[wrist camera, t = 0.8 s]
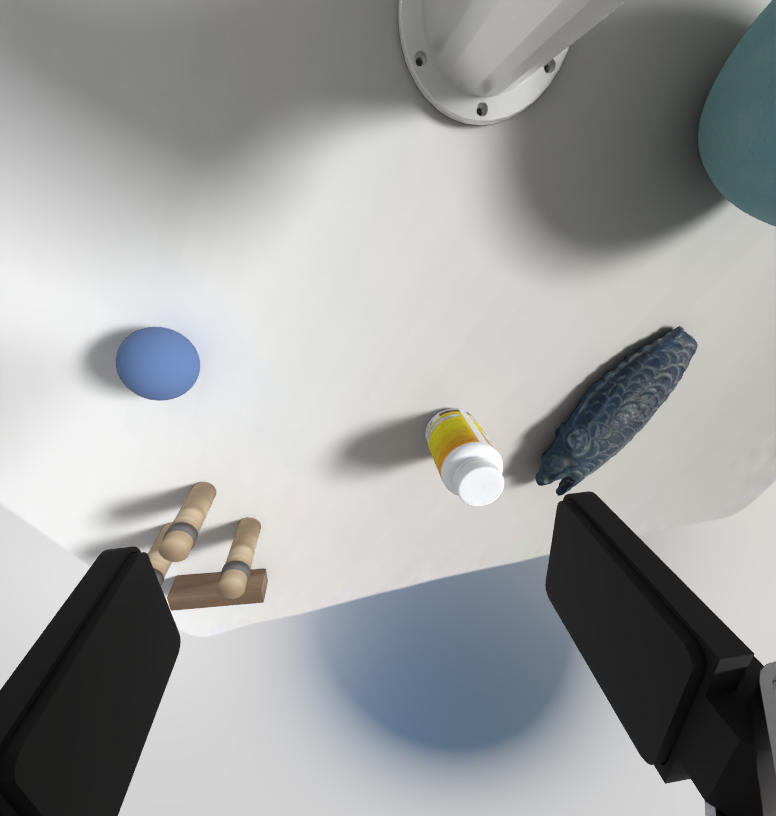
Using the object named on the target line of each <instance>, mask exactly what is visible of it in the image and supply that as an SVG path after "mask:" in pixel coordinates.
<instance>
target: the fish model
mask: <svg viewBox="0 0 776 816" xmlns="http://www.w3.org/2000/svg"><path fill="white" fill-rule="evenodd" d="M696 349H697V342H696V341H695V339H694V338H693V337H692V336H691V335H689V334H687V333H686V332H684V329H683V328H682V327H681V326H679V327H677V328H676V329H674V330H673V331H672V332H667V334H666V335H664V336H663V337H662V338H659V339H655V340H654V341H653V342H651V344H649V345H646V346H643V347H641V348H640V349H639V350H638V351H637V352H636V353H633V354H631V355H629V356H627V357H626V358H625V360H624V361H623V362H621V363H619V364H617V365H616V366H615V368H614V369H613V370H612V371H610V372H607V373H606V374H605V375H604V376H603V377H602V378H601V379H600V381H598V382H597V383H595V384H594V385H593V386H592V387H591V389H590V390H589V392H587V393H586V394H585V395H584V396H583V397H582V399H581V402H580V404H579V405H578V406H577V407H576V409H575V411H574V412H573V414H572V415H571V417H570V419H569V420H568V421H566V423H562V424H561V426H560V427H559V428H558V429H557V430H556V439H555V441H554V443H553V445H552V447H551V449H550V450H549V451H548V452H545V453H543V454H542V455H541V458H542V465H541V468H540V470H539V472H538V473H537V474H536V482H537V484H538V485H540V486H543V485H547V484H550V483H552V482H554V481H555V480H559V479H562V480H561V482H560V483H559V487H558V488H557V490H556V493H557V494H558V496H560V495H563V494H564V493H566V492H567V491H569V490H570V489H571V488H572V487H574V486H576V485H577V484H578V483H579V482H581V481H582V480H583V479H584V478H585V477H586V476H588V475H590V474H592V473H593V472H594V471H596V470H597V469H598V468H600V467H601V466H602V465H603V464H604V463H606V462H607V461H608V460H609V459H610V458H611V457H613V456H615V455H616V454H617V453H618V452H619V451H620V450H621V449H622V448H623V447H624V446H625V445H626V444H628V443H629V442H630V441H631V440H632V439H633V437H634V436H635V434H636V433H637V432H639V431H640V430H641V429H642V428H643V427H644V426H645V425H646V423H647V422H648V421H649V420H650V419H651V417H652V416H653V415H654V413H655V412H656V411H657V409H658V408H659V407H660V406H661V405H662V404H663V403H664V402H665V401H666V400H667V398H668V396H669V394H670V393H671V392H672V391H673V390H674V388H675V387H676V386H677V384H678V382H679V381H680V379H681V378H682V376H683V373H684V371H685V370H686V369H687V367H688V365H689V362H690V360H691V358H692V356H693V355H694V354H695V352H696Z"/></svg>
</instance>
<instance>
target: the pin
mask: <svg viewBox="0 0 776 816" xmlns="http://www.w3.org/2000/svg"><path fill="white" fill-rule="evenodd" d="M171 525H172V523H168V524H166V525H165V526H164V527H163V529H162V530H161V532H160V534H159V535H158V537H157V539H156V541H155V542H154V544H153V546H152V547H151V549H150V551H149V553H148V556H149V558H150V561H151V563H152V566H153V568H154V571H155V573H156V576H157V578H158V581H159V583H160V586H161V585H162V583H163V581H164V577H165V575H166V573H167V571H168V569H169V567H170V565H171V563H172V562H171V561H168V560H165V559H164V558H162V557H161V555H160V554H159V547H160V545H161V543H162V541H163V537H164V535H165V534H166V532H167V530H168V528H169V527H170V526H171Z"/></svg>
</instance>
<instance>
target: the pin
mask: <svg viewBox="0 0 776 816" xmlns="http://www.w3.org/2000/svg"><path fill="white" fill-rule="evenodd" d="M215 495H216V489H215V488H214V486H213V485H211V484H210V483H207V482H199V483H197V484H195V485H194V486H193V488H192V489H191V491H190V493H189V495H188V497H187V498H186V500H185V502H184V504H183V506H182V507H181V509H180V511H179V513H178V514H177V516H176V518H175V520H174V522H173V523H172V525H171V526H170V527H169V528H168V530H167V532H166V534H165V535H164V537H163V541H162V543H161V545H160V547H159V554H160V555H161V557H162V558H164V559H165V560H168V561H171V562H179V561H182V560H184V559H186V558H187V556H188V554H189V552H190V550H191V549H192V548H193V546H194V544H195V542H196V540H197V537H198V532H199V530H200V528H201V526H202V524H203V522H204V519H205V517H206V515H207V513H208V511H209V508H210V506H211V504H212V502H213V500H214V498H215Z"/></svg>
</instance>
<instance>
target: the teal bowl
mask: <svg viewBox="0 0 776 816" xmlns="http://www.w3.org/2000/svg"><path fill="white" fill-rule="evenodd" d="M698 147H699V153H700V157H701V160H702V163H703V166H704V168H705V170H706V172H707V174H708V176H709V177H710V179H711V181H712V182H713V184H714V185H715V187H716V188H717V189H718V190H719V192H720V193H721V194H722V195H723V196H724V197H725V198H726V199H727V200H729V201H730V202H731V203H732V204H734V205H735V206H736V207H738V208H739V209H741V210H742V211H744V212H745V213H747V214H749V215H751V216H753V217H755V218H757V219H759V220H761V221H763V222H766V223H768V224H770V225H773V226H776V0H772V2H771V3H770V4H769V5H768V6H767V7H766V8H765V9H764V11H763V12H762V13H761V14H760V15H759V16H758V18H757V19H756V20H755V21H754V23H753V24H752V25H751V26H750V28H749V29H748V30H747V31H746V33H745V34H744V36H743V37H742V38H741V40H740V41H739V42H738V44H737V45H736V47H735V48H734V50H733V51H732V53H731V54H730V56H729V57H728V59H727V61H726V62H725V64H724V66H723V67H722V69H721V71H720V73H719V74H718V76H717V78H716V80H715V82H714V84H713V86H712V88H711V90H710V92H709V94H708V97H707V99H706V102H705V104H704V107H703V110H702V114H701V117H700V122H699V128H698Z"/></svg>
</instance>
